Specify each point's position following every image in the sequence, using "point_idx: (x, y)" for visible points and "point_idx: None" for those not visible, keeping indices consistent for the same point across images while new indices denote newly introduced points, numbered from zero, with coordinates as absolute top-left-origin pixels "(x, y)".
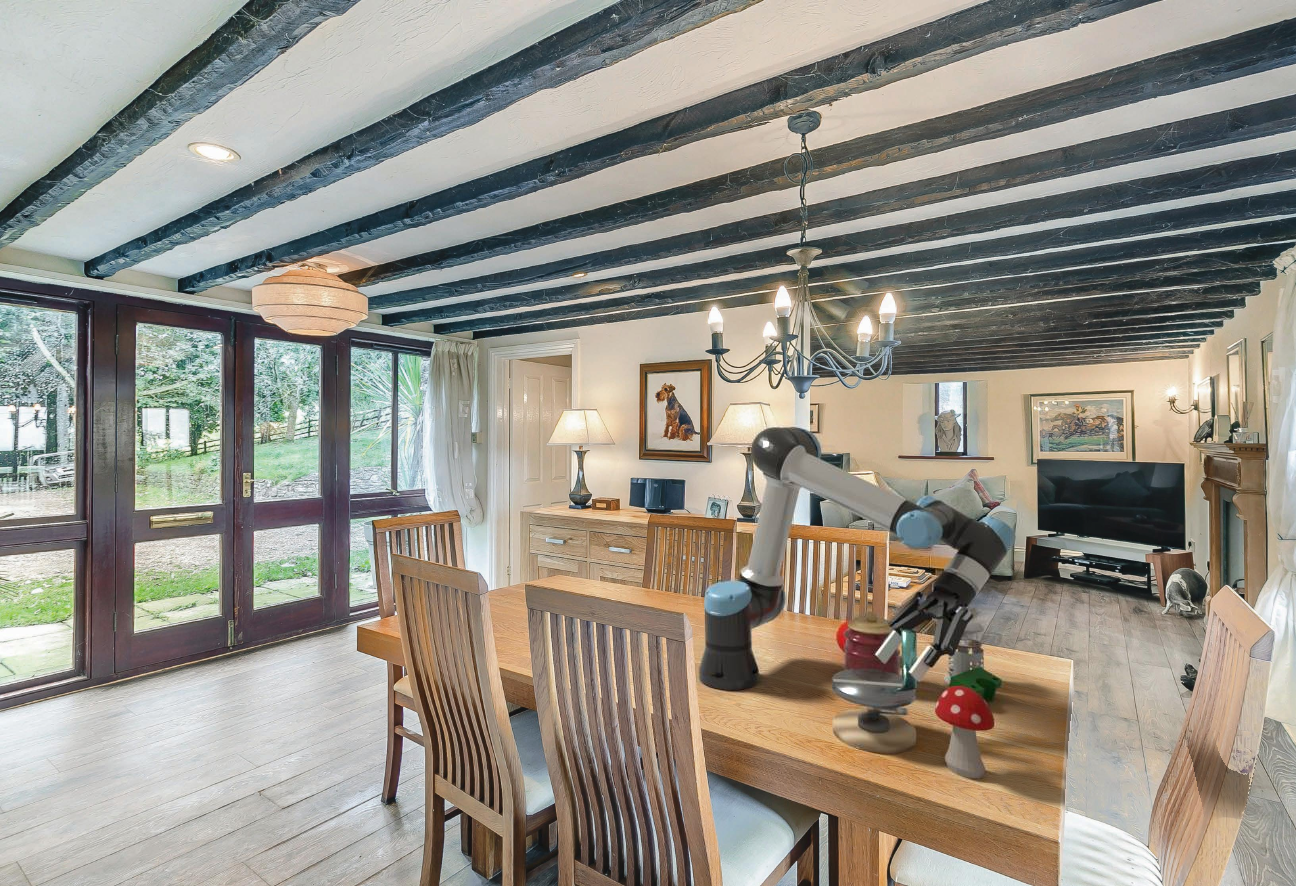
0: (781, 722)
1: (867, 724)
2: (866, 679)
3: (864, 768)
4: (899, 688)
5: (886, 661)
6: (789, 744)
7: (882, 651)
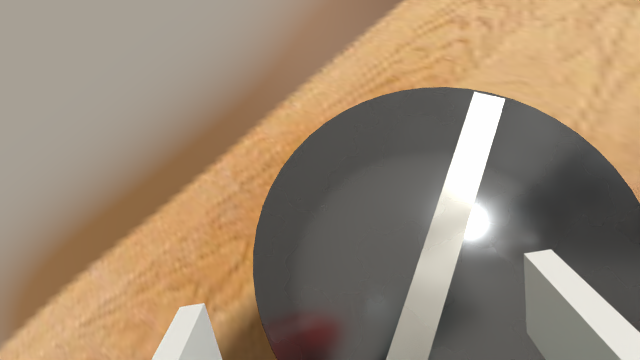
0: (510, 74)
1: None
2: (492, 236)
3: (249, 182)
4: (360, 342)
5: (536, 342)
6: (388, 65)
7: (549, 294)
